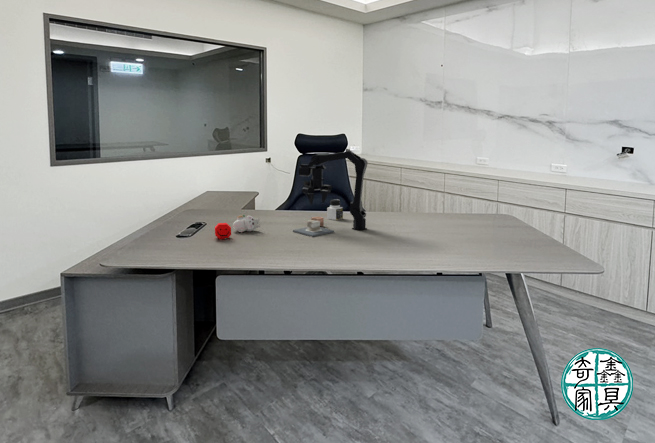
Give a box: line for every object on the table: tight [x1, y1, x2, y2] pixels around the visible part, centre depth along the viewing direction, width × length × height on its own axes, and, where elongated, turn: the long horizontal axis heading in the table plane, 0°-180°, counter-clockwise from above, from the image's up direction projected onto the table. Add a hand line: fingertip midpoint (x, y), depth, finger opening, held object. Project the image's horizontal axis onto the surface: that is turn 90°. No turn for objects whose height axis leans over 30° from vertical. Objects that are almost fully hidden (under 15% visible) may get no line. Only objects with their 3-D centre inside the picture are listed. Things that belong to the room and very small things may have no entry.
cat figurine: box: [232, 214, 261, 233], centre depth 272 cm, size 10×8×15 cm
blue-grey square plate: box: [292, 226, 335, 238], centre depth 271 cm, size 16×16×1 cm
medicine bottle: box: [326, 198, 344, 221], centre depth 306 cm, size 7×7×12 cm
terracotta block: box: [311, 216, 325, 227], centre depth 286 cm, size 5×5×5 cm
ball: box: [214, 222, 232, 240], centre depth 256 cm, size 8×8×8 cm
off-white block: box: [306, 220, 320, 231], centre depth 271 cm, size 5×5×5 cm
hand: (317, 203), depth 283 cm, fingers open, 9 cm apart
